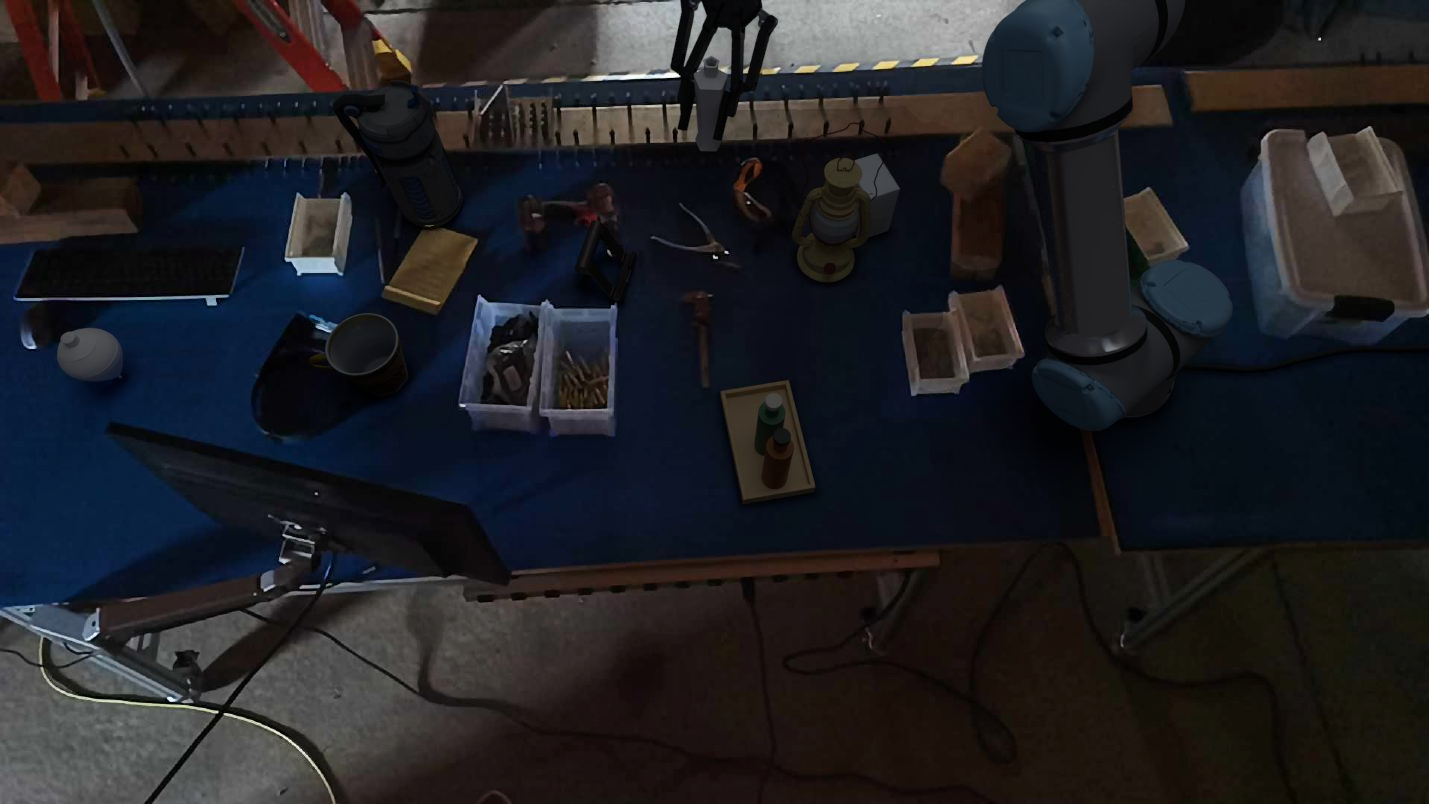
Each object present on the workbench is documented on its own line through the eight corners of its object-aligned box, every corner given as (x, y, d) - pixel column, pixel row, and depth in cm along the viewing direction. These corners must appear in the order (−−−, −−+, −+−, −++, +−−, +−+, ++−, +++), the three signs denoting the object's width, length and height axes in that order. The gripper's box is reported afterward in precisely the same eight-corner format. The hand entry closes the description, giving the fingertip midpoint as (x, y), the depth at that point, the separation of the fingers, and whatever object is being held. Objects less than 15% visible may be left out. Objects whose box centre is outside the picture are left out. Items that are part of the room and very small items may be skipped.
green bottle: (776, 431, 124) (784, 385, 111) (781, 454, 123) (790, 410, 110) (752, 435, 124) (757, 390, 111) (757, 458, 122) (763, 415, 109)
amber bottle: (784, 463, 122) (793, 420, 109) (789, 487, 121) (799, 446, 108) (759, 467, 122) (765, 425, 109) (764, 491, 120) (771, 451, 107)
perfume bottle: (728, 150, 126) (734, 70, 113) (700, 156, 125) (702, 77, 112) (718, 127, 128) (723, 46, 114) (690, 133, 127) (691, 52, 114)
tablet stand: (622, 305, 134) (617, 274, 127) (574, 295, 135) (566, 264, 127) (636, 259, 138) (632, 227, 130) (589, 250, 139) (582, 217, 131)
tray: (787, 386, 128) (788, 379, 126) (814, 492, 121) (815, 487, 119) (720, 397, 127) (720, 390, 125) (742, 504, 120) (743, 499, 118)
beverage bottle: (389, 186, 144) (330, 68, 122) (469, 179, 145) (425, 61, 122) (386, 235, 140) (324, 122, 117) (468, 228, 140) (422, 115, 118)
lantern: (788, 285, 136) (808, 152, 109) (787, 234, 140) (806, 94, 113) (864, 287, 136) (903, 154, 109) (861, 236, 140) (897, 96, 113)
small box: (888, 232, 141) (901, 189, 131) (857, 242, 140) (868, 200, 130) (867, 195, 144) (878, 151, 135) (836, 205, 143) (845, 161, 134)
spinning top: (90, 404, 126) (32, 365, 115) (98, 359, 129) (42, 317, 119) (144, 397, 127) (91, 357, 116) (151, 352, 130) (100, 309, 119)
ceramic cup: (415, 341, 131) (393, 305, 122) (424, 397, 127) (402, 365, 118) (328, 362, 129) (299, 327, 120) (334, 420, 125) (305, 388, 116)
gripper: (810, -26, 115) (764, 151, 123) (686, -57, 117) (649, 119, 125) (802, -37, 108) (754, 152, 116) (671, -69, 110) (632, 118, 118)
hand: (699, 134), depth 120 cm, fingers closed on perfume bottle, 4 cm apart
